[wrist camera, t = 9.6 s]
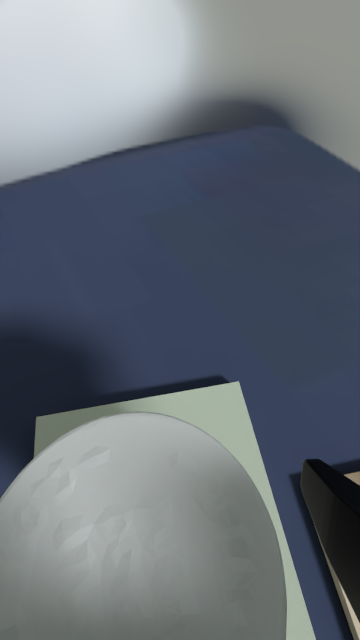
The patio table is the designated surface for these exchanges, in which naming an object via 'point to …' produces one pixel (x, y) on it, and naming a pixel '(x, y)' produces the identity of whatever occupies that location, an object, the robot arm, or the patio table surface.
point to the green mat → (226, 427)
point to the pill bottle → (138, 539)
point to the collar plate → (356, 628)
